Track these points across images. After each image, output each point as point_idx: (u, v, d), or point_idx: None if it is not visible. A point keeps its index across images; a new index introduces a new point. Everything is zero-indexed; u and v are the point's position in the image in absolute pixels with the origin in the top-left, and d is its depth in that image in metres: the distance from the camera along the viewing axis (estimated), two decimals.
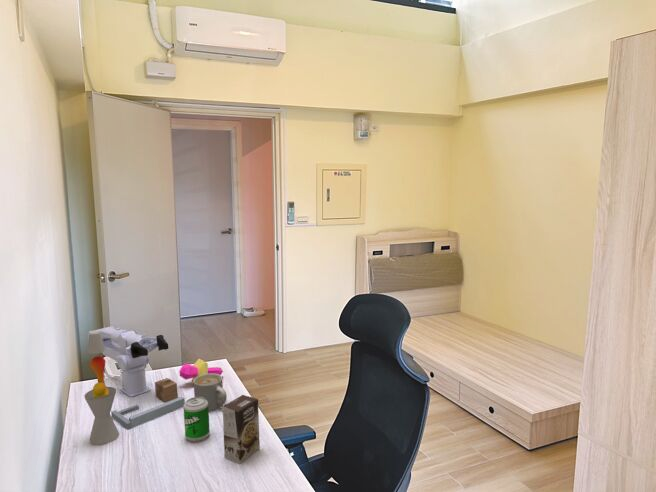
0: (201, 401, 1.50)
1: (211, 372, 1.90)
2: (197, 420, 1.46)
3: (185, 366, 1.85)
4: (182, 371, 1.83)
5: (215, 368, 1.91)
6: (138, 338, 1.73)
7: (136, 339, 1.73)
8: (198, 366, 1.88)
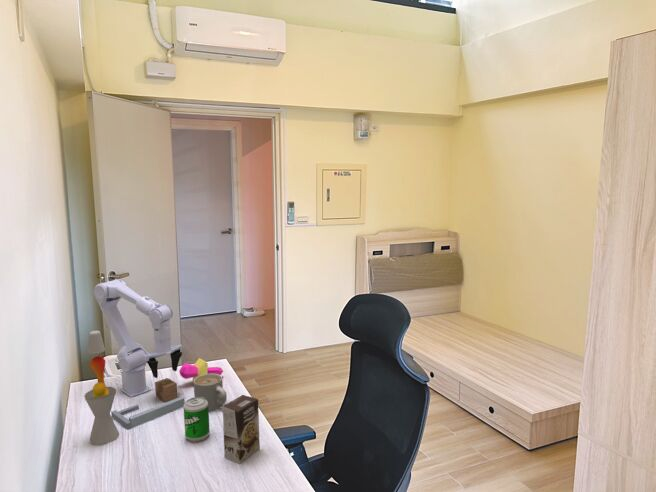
0: (201, 401, 1.50)
1: (211, 372, 1.90)
2: (197, 420, 1.46)
3: (185, 365, 1.85)
4: (181, 370, 1.84)
5: (215, 368, 1.91)
6: (163, 347, 1.72)
7: (161, 346, 1.71)
8: (198, 366, 1.89)
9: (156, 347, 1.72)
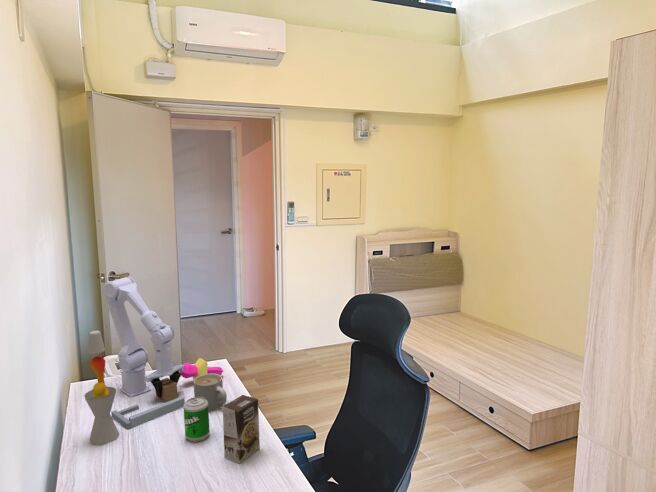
0: (201, 401, 1.50)
1: (211, 372, 1.90)
2: (197, 420, 1.46)
3: (185, 365, 1.86)
4: None
5: (215, 368, 1.91)
6: (165, 368, 1.73)
7: (163, 367, 1.73)
8: (198, 366, 1.89)
9: (158, 368, 1.73)
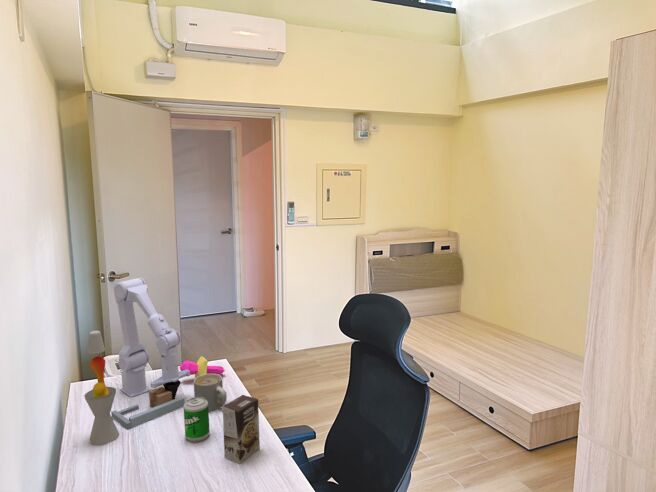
0: (201, 401, 1.50)
1: (211, 370, 1.91)
2: (197, 420, 1.46)
3: (185, 362, 1.88)
4: (181, 367, 1.87)
5: (216, 367, 1.92)
6: (170, 374, 1.69)
7: (168, 373, 1.68)
8: (198, 364, 1.91)
9: (163, 374, 1.69)
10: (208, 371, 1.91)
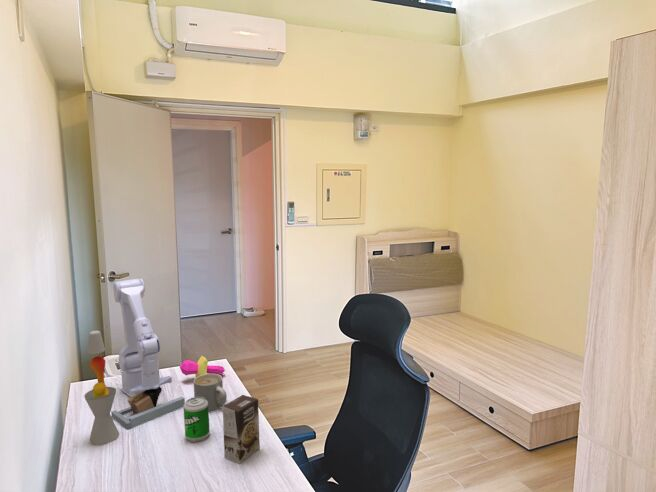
0: (201, 401, 1.50)
1: (211, 370, 1.92)
2: (197, 420, 1.46)
3: (185, 362, 1.89)
4: (181, 366, 1.88)
5: (216, 366, 1.92)
6: (151, 381, 1.63)
7: (149, 380, 1.63)
8: (199, 363, 1.91)
9: (143, 381, 1.64)
10: (208, 371, 1.92)
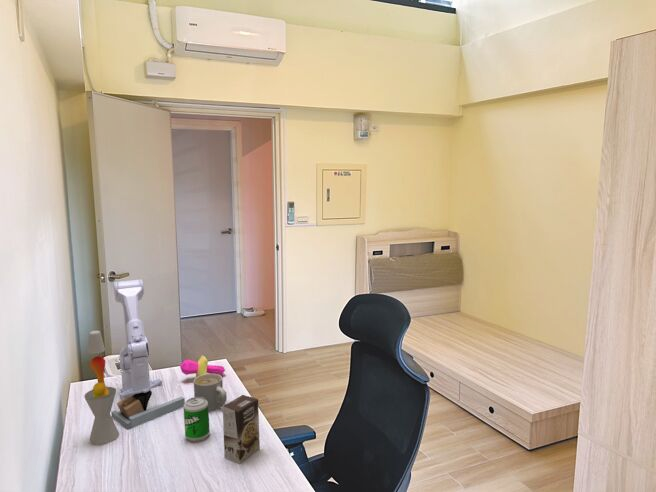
0: (201, 401, 1.50)
1: (211, 370, 1.92)
2: (197, 420, 1.46)
3: (186, 361, 1.89)
4: (182, 366, 1.88)
5: (216, 366, 1.92)
6: (140, 384, 1.61)
7: (138, 383, 1.60)
8: (199, 363, 1.92)
9: (133, 384, 1.61)
10: (208, 370, 1.92)
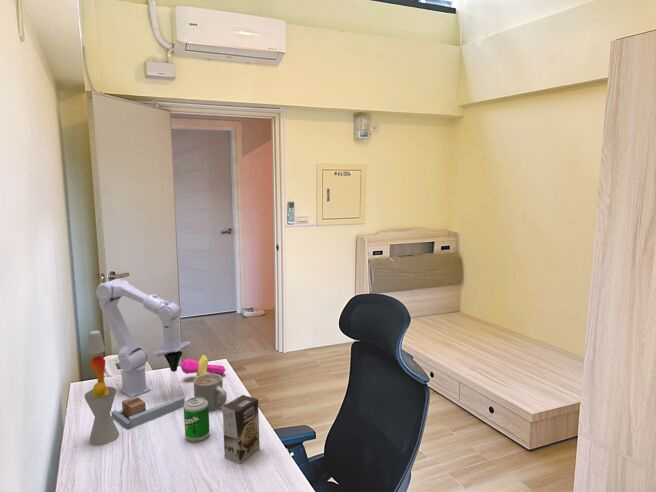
0: (201, 401, 1.50)
1: (212, 369, 1.92)
2: (197, 420, 1.46)
3: (186, 361, 1.90)
4: (182, 365, 1.89)
5: (216, 366, 1.93)
6: (172, 344, 1.73)
7: (170, 343, 1.73)
8: (199, 362, 1.92)
9: (165, 344, 1.73)
10: (209, 370, 1.92)
